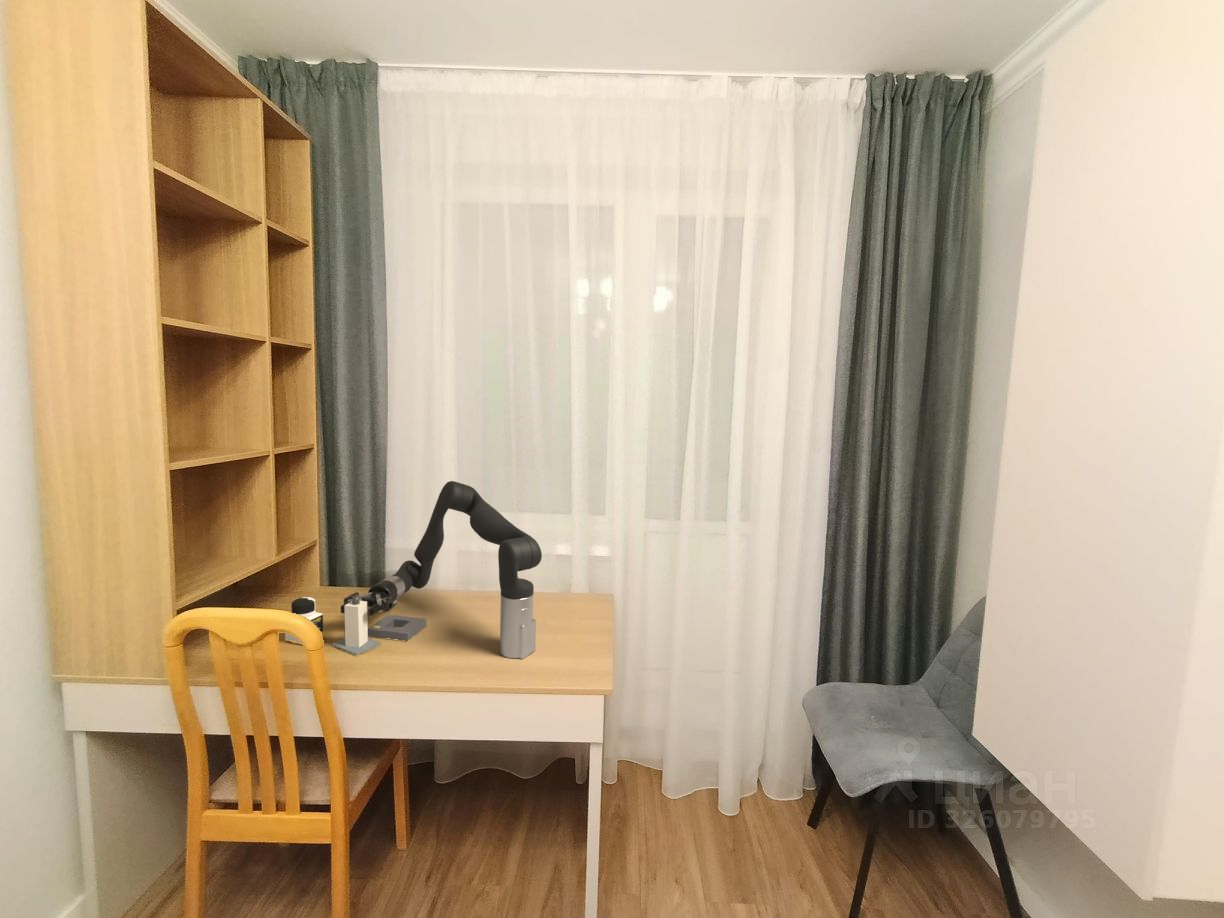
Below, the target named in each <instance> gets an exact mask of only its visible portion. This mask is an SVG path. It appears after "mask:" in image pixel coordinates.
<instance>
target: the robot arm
mask: <svg viewBox="0 0 1224 918" xmlns="http://www.w3.org/2000/svg"><path fill="white" fill-rule="evenodd" d="M448 510H452V511H456V512H460V513H463V514H465V515H468V516H469V525H470V527H471V529H472V530H473V532H475V533H476V534H477V535H478V536H479V537H480V538H481V539H482V540H484V541H486V542H487V543H491V544H493V545H498V550H497V551H498V553H497V554H498V555H497V556H498V557H497V559H498V580H499V581H498V582H499V587H500V613H499V616H500V622H499V623H500V625H499V626H500V627H499V629H500V630H499V631H500V632H499V640H500V642H499V653H500V654H501V655H502V656H503V657H505V658H507V659H522V660H523V659H524V658H526V657H528V656H529V655H530V654H532V653H534V652H536V635H537V634H536V633H537V632H536V630H537V620H536V618H534V592H535V590H534V584H533V582H532V581H530V580H528V579H526V578H525V579H524V578H520V577H519V575H518V572H521V571H527V570H531V569H533V568H535V567H537V566H539V565H540V563H541V562H542V557H543V555H542V554H543V552H542V549H541V547H540V545H539V543H538V541H537V540H536V539H535V538H534V537H533V536H532V535H530V534H529V533H526V532H525V531H523V530H521V529H520V528H518V527H517V526H515V524H513V523H511V522H510V521H509V520H508V519H507V518H505V517H504V516H503V515H502V514H501V513H500V512H499V511H498V510H497V509H495V508H494V507H493V506H492V505H490V504H489V503H488V502H487V501H485V500H484V499H483V497H482V496H481V495H480V493H479V492H478V491H477V490H476V489H475V488H474V487H472V486H470V485H468V484H464V483H462V482H458V481H454V480H450V481H447V482H446V483H445V484H444V485H443V487H442V489H441V490H440V492H439V495H438V497H437V500H436V502H435V506H434V508H433V510H432V514H431V517H430V519H429V521H428V522H429V523H427V524H428V525H427V528H426V529H425V532H424V534H423V536H422V538H421V539H420V541H419V543H418V544H417V546H416V549H415V550H414V553H413V554H414V555H413V556H414V558H415V559H416V560H417V561H418V562H419V564H418V563H417V562H415V561H414V560H411V559H410V560H406V561H404V562H403V563H402V564H401V566H400V567H399V569H398V570H397V571H396V572H395V573H394V574H392V575H391V576H388V577H385V578H384V579H383V580H381V581H379V582H377V583H375V584H374V585H372V586H371V587H370V588H369V590H368V592H367V593H364V594H360V593H359V592H354V593H352V594H350V595H348V596H346V597H344V598H343V604H342V605H340V613H341V614H345V605H346V604H348V603H350V602H351V601H352V596H360V601H367V617H372V616H374V615H376V614H378V613H381V612H383V611H384V612H386V613H387V612H390V610H392V609H393V608H394V607H396V605H398V603H397V602H398V601H397V600H398V599H399V598H401V596H403V595H404V594H405V593H407V592H409V591H410V590H411V589H412V588H415V589H416V590H420V589H422V588H424V587H425V586H426V585H427V584H428V582H429V581H430V578H431V574H432V569H433V566H434V565H433V564H434V561H435V559H436V557H437V555H438V554H439V552H440V550H441V548H442V547H443V543H444V539H445V531H444V518H445V515H446V514H447V512H448Z"/></svg>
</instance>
